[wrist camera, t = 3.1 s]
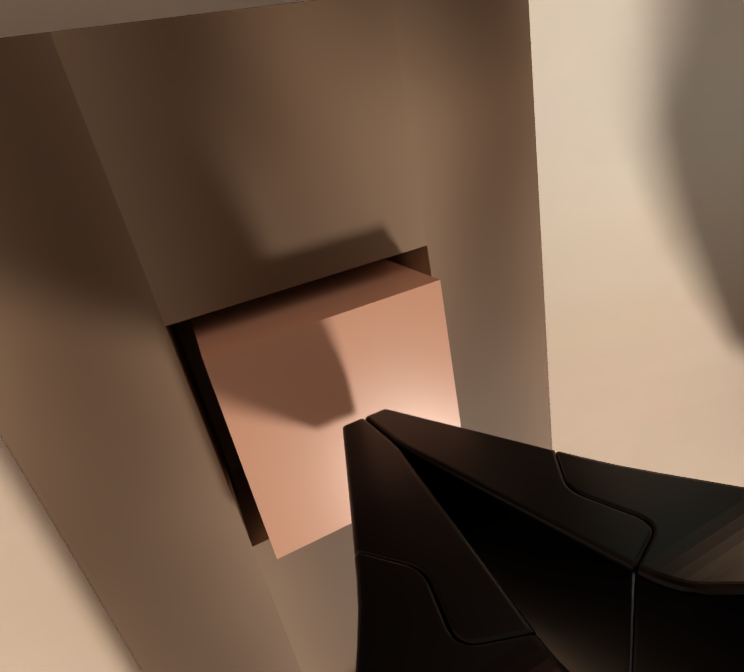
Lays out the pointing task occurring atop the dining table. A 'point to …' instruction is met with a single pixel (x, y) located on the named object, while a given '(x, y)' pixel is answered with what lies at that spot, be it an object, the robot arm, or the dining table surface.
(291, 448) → the terracotta key
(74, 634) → the dining table surface
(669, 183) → the dining table surface
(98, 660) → the dining table surface
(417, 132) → the key panel
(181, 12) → the dining table surface
